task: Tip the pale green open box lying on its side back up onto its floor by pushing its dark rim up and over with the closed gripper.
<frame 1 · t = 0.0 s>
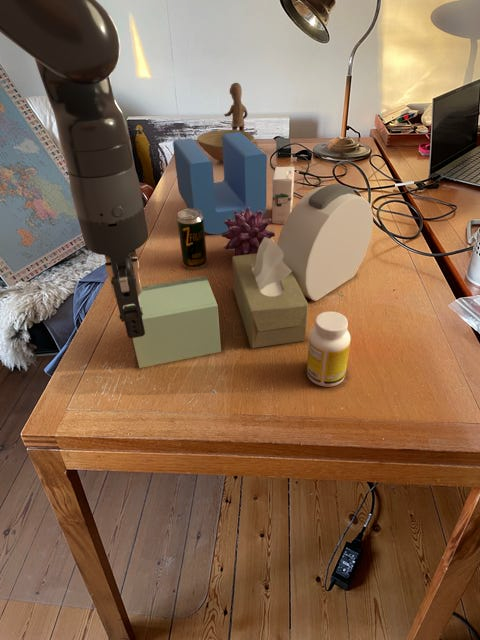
hand: (134, 316, 62), 15 cm above the table, tool pointing down, fingers open, 8 cm apart
bowl: (226, 161, 152), on the table
flower: (248, 258, 103), on the table
figurine: (238, 145, 165), on the table
tissue box: (266, 314, 87), on the table, touching alarm clock
block: (221, 217, 120), on the table
beer can: (195, 264, 102), on the table
ink box: (282, 217, 119), on the table
pale green open box: (177, 337, 74), point 5 cm above the table
pill bottle: (325, 375, 74), on the table
alarm clock: (320, 281, 94), on the table, touching tissue box
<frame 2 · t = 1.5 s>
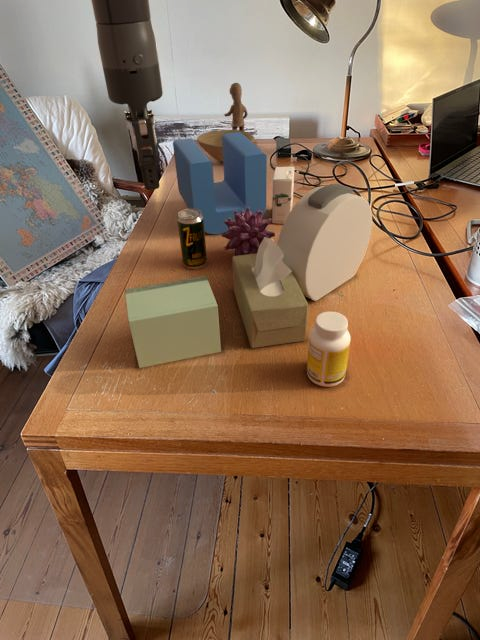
hand: (149, 178, 72), 26 cm above the table, tool pointing down, fingers open, 8 cm apart
nothing on the table moved.
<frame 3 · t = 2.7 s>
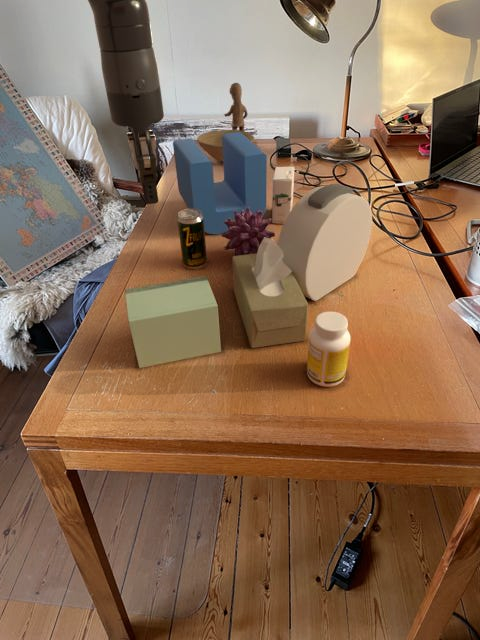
hand: (151, 201, 74), 22 cm above the table, tool pointing down, fingers closed
nothing on the table moved.
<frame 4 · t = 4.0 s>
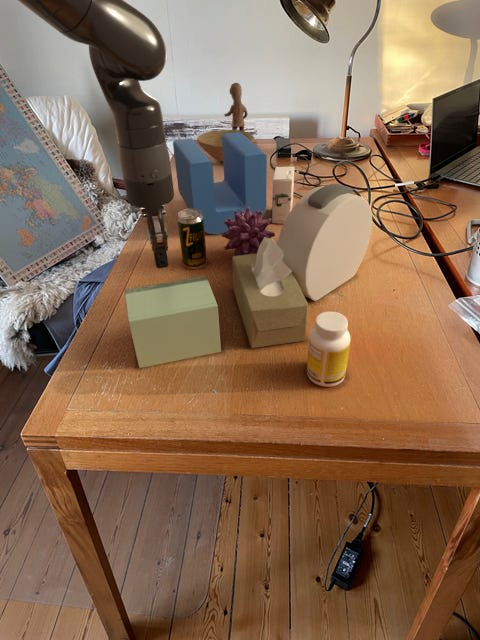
hand: (162, 265, 82), 10 cm above the table, tool pointing down, fingers closed
nothing on the table moved.
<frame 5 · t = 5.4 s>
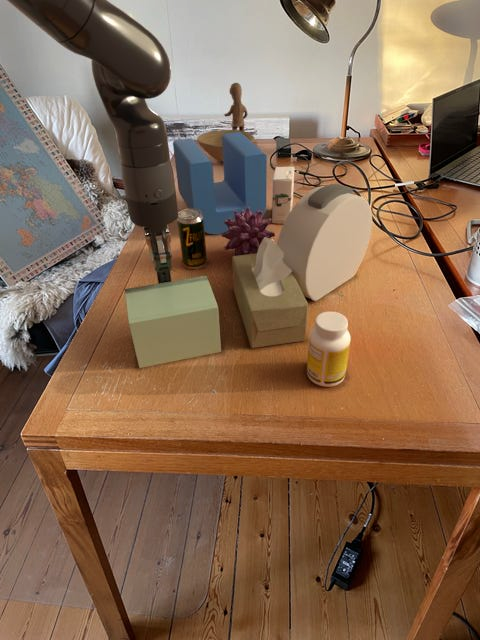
hand: (165, 284, 79), 9 cm above the table, tool pointing down, fingers closed
pale green open box: (177, 338, 74), point 5 cm above the table, touching gripper
everything else where it was.
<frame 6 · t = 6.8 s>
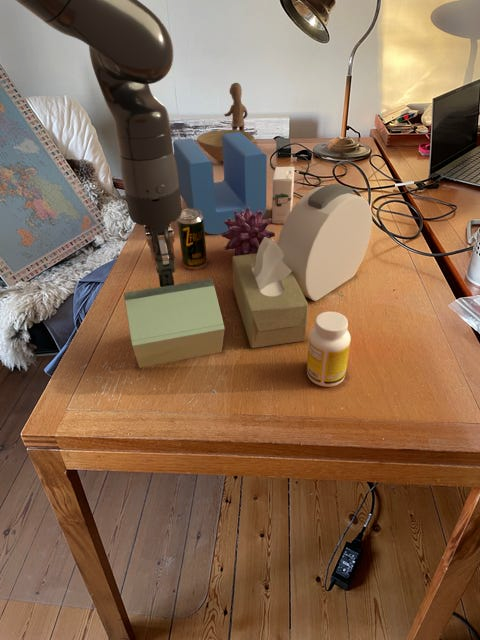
hand: (167, 287, 74), 12 cm above the table, tool pointing down, fingers closed
pale green open box: (180, 349, 73), point 4 cm above the table, tilted 27°, touching gripper
everything else where it was.
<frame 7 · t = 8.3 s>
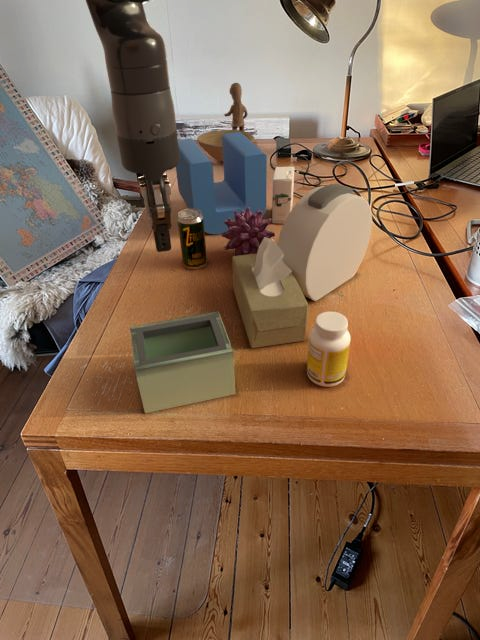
hand: (163, 248, 68), 19 cm above the table, tool pointing down, fingers closed
pale green open box: (185, 381, 73), on the table, tilted 90°
everything else where it was.
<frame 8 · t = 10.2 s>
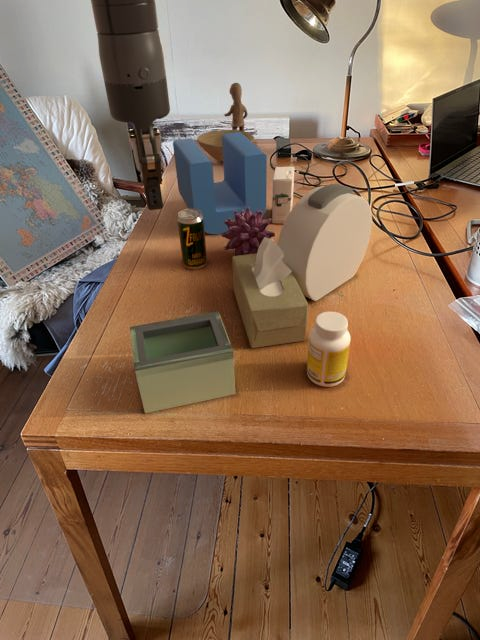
hand: (155, 207, 66), 25 cm above the table, tool pointing down, fingers closed
nothing on the table moved.
at the end: pale green open box tilted 90°; pale green open box on the table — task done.
